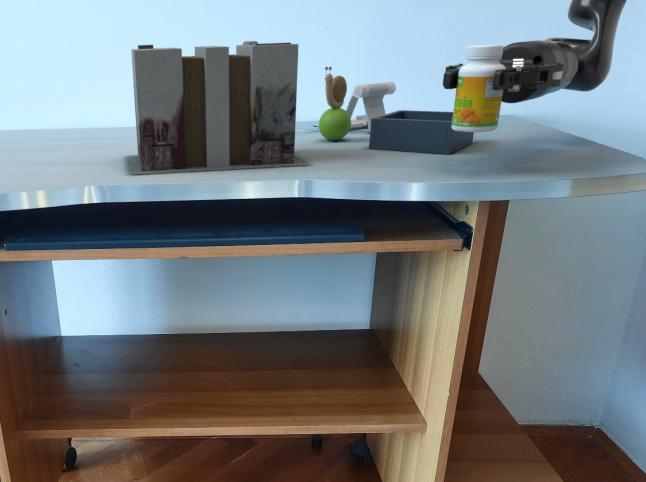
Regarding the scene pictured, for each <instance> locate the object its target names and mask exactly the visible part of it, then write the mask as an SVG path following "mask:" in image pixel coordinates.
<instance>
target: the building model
mask: <svg viewBox="0 0 646 482" xmlns="http://www.w3.org/2000/svg"><path fill="white" fill-rule="evenodd" d="M235 46H236V47H235V53H233V54H230V47H229V46H222V45H207V46H194V55H185V56H183V49H182V48H180V47H154V44H137V48H132V49H131V50H130V51H131V63H132V64H131V65H132V66H131V67H132V80H133V81H132V82H133V96H134V97H133V98H134V113H135V128H136V129H135V130H136V144H137V155H131V156H129V161H130V168H131V174H132V175H149V174H151V175H152V174H153V175H154V174H170V173H172V174H173V173H189V172H202V171H204V172H205V171H224V170H226V171H227V170H243V169H259V168H260V169H261V168H262V169H263V168H279V167H280V168H281V167H298V166H308V164H307V163H305V162H304V161H302V160H301V159H299V158H297V157H295V148H296V147H295V146H296V125H297V124H296V121H297V119H296V118H297V97H298V96H297V95H298V70H299V69H298V67H299V43H292V42H266V43H259V42H258V41H257V40H246V41H243V42H242V44H236V45H235Z"/></svg>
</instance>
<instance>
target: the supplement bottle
mask: <svg viewBox="0 0 646 482" xmlns="http://www.w3.org/2000/svg"><path fill="white" fill-rule="evenodd" d="M503 48H504V44H479V45H477V44H476V45H468V46H467V48H466V55H465V56H466V58H465V59H466V60H467V63H466V64H464V65H465V66H463V67H461V68H460V70H459V73H458V79H457V88H455V95H454V96H455V97H454V105H453V111H452V112H453V118H452V129H453V130H454V131H461V132H474V133H486V132H493V131H495V130H497V129H498V126H499V120H500V113H501V107H502V102H501V101H502V94H503V90H493V81H494V74H495V71H496V70H500V69H506V68H505V66H504V65H502V64H500V63H499V58H501V57H502V55H503Z"/></svg>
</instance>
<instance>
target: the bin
mask: <svg viewBox="0 0 646 482" xmlns="http://www.w3.org/2000/svg"><path fill="white" fill-rule="evenodd" d="M452 118H453V111H441V110H440V111H434V110H410V109H409V110H408V109H407V110H406V109H399V110H395V111H393V112H392V111H391V112H388V113H385V115H382V116H378V117H375V118H372V119H371V128H370V132H369V140H368V141H369V142H368V143H369V144H368V149H369V150H383V151H398V152H409V153H410V152H411V153H425V154H427V153H428V154H441V155H442V154H443V155H451V154H453V153H454V152H456V151H458V150H461V149H462V148H464V147H467V146H468V145H470V144H473V140H474V135H475V132H461V131H454V130H453V129H452Z"/></svg>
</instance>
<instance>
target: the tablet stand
mask: <svg viewBox="0 0 646 482" xmlns="http://www.w3.org/2000/svg"><path fill="white" fill-rule="evenodd" d="M396 90H397V85H396V83H395V82H393V81H387V82H375V83H374V82H373V83H364V84H363V83H362V84H356V85H354V87H353V90H352V93H351V95H350V98H349V100H348V103H347V106H346V108H345V109H344V110H345V111H346V112H347V113H348V114H349V116H350V118H351V119H352V116H353V114H354V111H355V109H356V106H357V104H358V101H359V99H360V98H362V103H363V107H364V112H365V114H362V115H356V116H355V117H354V120H351V127H350V130H355V129H365V128H368V132H369V133H370V128H371V119H372V118H375V117H378V116H382V115H385V114H386V110H385V104H384V98H385V96H387V95H389V96H390V95H393V94H394V93H395V92H396Z"/></svg>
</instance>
